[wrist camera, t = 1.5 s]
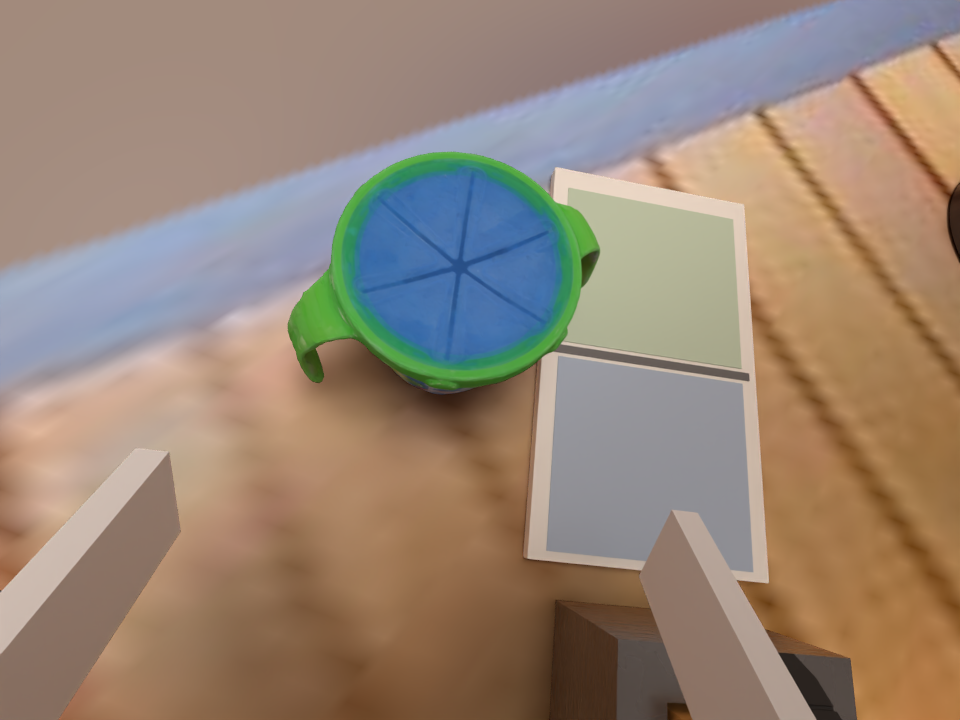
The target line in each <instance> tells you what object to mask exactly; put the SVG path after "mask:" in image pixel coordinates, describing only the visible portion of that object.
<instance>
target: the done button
mask: <svg viewBox="0 0 960 720" xmlns="http://www.w3.org/2000/svg"><path fill="white" fill-rule="evenodd" d="M667 720H692V717H691V715H690V712H689V709H688V707H687V704H682V703H668V702H667Z"/></svg>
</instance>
